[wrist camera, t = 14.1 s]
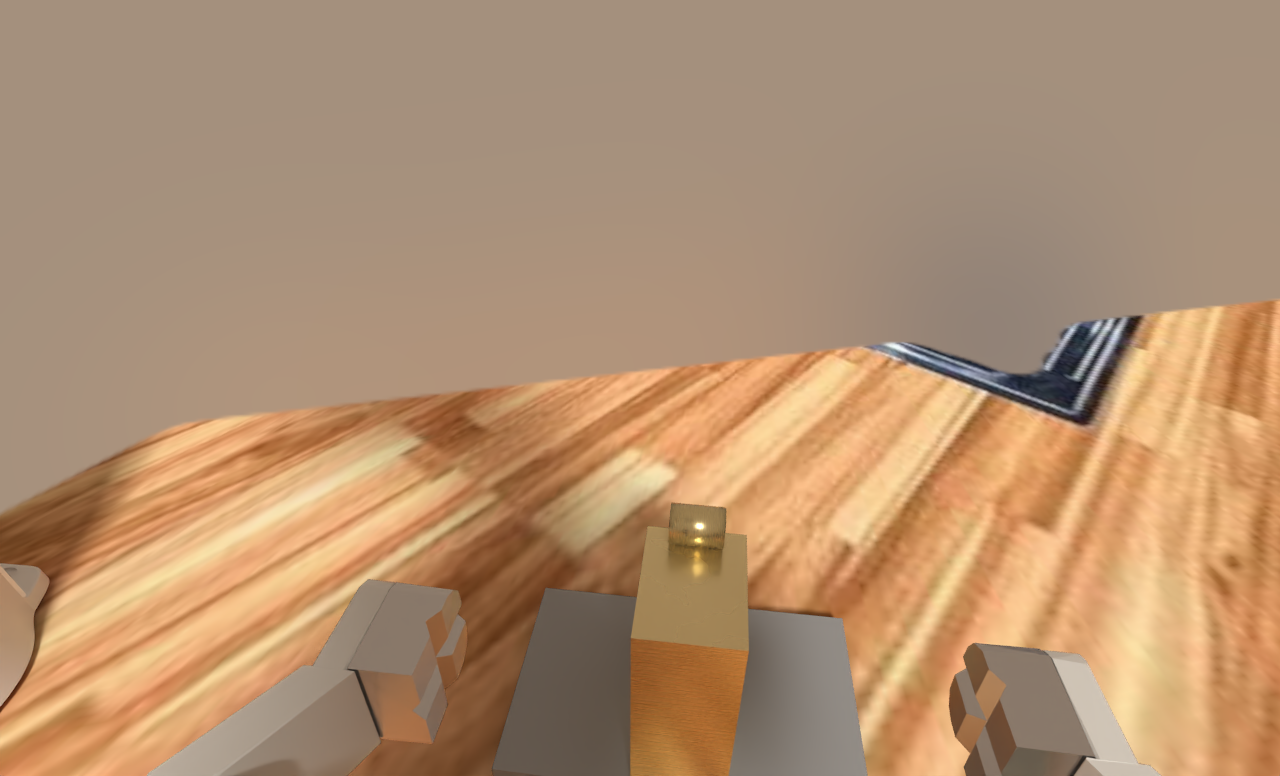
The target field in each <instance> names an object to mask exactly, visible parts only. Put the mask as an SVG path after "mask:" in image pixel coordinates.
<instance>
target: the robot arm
mask: <svg viewBox="0 0 1280 776" xmlns="http://www.w3.org/2000/svg"><path fill="white" fill-rule="evenodd" d="M48 586H49V578H48V576H47V575H46V574H45V573H44V572H43V571H42V570H41V569H40V568H38V567H35V566H28V565H16V564H4V563H0V706H1V705H2V704H3V703H4V701H5V700H6V699H7V698H8V696H9V695H10V694H11V692H12V691H13V689H14V688H15V686H16V685H17V683H18V682H19V680H20V679H21V677H22V675H23V673H24V671H25V669H26V667H27V665H28V663H29V660H30V658H31V655H32V651H33V647H34V641H35V632H34V613H35V610H36V609H37V607H38V605H39V603H40V602H41V600H42V598H43V596H44V595H45V593H46V590H47V588H48ZM461 604H462V602H461V599H460V595H459V591H458V590H451V589H443V588H435V587H427V586H420V585H412V584H404V583H397V582H388V581H379V580H370V579H368V580H367V581H366V582H365V583H364V584H363V585H361V586H360V587H359V589H358V590H357V592H356V594H355V595H354V597H353V599H352V600H351V602H350V604H349V605H348V607H347V609H346V610H345V612H344V614H343V615H342V617H341V619H340V620H339V622H338V624H337V625H336V627H335V629H334V630H333V632H332V634H331V635H330V637H329V639H328V641H327V642H326V644H325V646H324V647H323V649H322V651H321V652H320V654H319V656H318V657H317V659H316V661H315V662H314V664H313V666H310V665H303V666H302V667H300V668H299V669H297V670H296V671H294V672H293V673H292V674H290V675H289V676H287V677H286V678H284V679H283V680H281V681H280V682H279V683H277V684H276V685H274V686H273V687H271V688H270V689H269V690H267V691H266V692H264V693H263V694H261V695H260V696H258V697H257V698H256V699H254V700H253V701H251V702H250V703H248V704H247V705H246V706H244V707H243V708H241V709H240V710H238V711H237V712H236V713H234V714H233V715H231V716H230V717H228V718H227V719H225V720H224V721H223V722H221V723H220V724H218V725H217V726H215V727H214V728H213V729H211V730H210V731H208V732H207V733H205V734H204V735H203V736H201V737H200V738H198V739H197V740H195V741H194V742H192V743H191V744H190V745H188V746H187V747H185V748H184V749H182V750H181V751H180V752H178V753H177V754H175V755H174V756H172V757H171V758H169V759H168V760H167V761H165V762H164V763H162V764H161V765H159V766H158V767H157V768H155V769H154V770H152V771H151V772H149V773H148V775H147V776H347V775H348V774H349V773H350V772H352V771H353V770H354V769H355V768H356V767H357V766H358V765H359V764H360V763H361V762H362V761H363V760H364V759H365V758H366V757H367V756H368V755H369V754H370V753H371V752H372V751H373V750H374V749H375V748H376V747H377V746H378V745H379V744H380V743H381V740H380V739H385V740H396V741H406V742H416V743H426V744H433V742H434V739H435V736H436V734H437V731H438V729H439V726H440V724H441V721H442V718H443V716H444V713H445V711H446V708H447V705H448V703H447V699H446V695H445V689H446V688H447V687H448V686H450V685H451V684H452V683H453V682H454V681H456V680H457V679H458V677H459V674H460V671H461V668H462V666H463V663H464V658H465V653H466V648H467V626H466V621H465V620H464V619H463V618H461V617H460V616H459V615H458V612H459V609H460V607H461ZM963 658H964V661H965V665H966V669H965V670H963V671H961V672H959V673H957V674H955V676H954V679H953V682H952V684H951V687H950V696H949V710H950V717H951V722H952V726H953V730H954V734H955V737H956V738H957V739H958V741H959V742H960V743H961V744H962V745H963V746H964V747H965V748H966V749H967V750H968V751H969V752H970V755H969V757H968V759H967V761H966V764H965V766H964V769H965V773H966V776H1161V775H1160V774H1159V773H1158V772H1157V771H1156V770H1155V769H1153V768H1152V767H1151V766H1150V765H1145V764H1139V763H1138V762H1137V760H1136V758H1135V756H1134V754H1133V752H1132V750H1131V748H1130V746H1129V744H1128V742H1127V740H1126V738H1125V736H1124V734H1123V732H1122V730H1121V728H1120V726H1119V724H1118V722H1117V720H1116V718H1115V716H1114V714H1113V712H1112V710H1111V708H1110V706H1109V704H1108V702H1107V700H1106V698H1105V696H1104V695H1103V693H1102V691H1101V689H1100V687H1099V685H1098V683H1097V681H1096V679H1095V677H1094V675H1093V673H1092V671H1091V669H1090V667H1089V665H1088V663H1087V661H1086V660H1085V659H1084V658H1083V657H1082V656H1081V655H1080V654H1075V653H1067V652H1056V651H1045V650H1040V649H1035V648H1024V647H1012V646H1001V645H990V644H979V643H973V644H972V645H970V646H969V647H968V648H967V650H966V652H965V654H964V656H963Z"/></svg>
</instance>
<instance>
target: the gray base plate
mask: <svg viewBox="0 0 1280 776" xmlns="http://www.w3.org/2000/svg"><path fill="white" fill-rule="evenodd" d="M636 600H637V597H630V596H620V595H610V594H601V593H591V592H582V591H572V590H562V589H553V588H545V592H544V595H543V598H542V602H541V605H540V609H539V612H538V615H537V619H536V622H535V625H534V629H533V632H532V635H531V639H530V642H529V646H528V649H527V652H526V656H525V659H524V662H523V666H522V669H521V672H520V676H519V679H518V683H517V686H516V689H515V693H514V696H513V699H512V703H511V706H510V709H509V713H508V716H507V720H506V723H505V726H504V730H503V733H502V736H501V740H500V743H499V746H498V750H497V753H496V756H495V760H494V763H493V767H492V772H493V776H630V714H631V633H632V626H633V620H634V613H635V607H636ZM748 632H749V653H748V660H747V666H746V672H745V678H744V684H743V690H742V697H741V703H740V709H739V715H738V721H737V727H736V734H735V740H734V746H733V752H732V758H731V764H730V771H729V776H867V769H866V763H865V757H864V751H863V745H862V738H861V732H860V726H859V720H858V713H857V707H856V701H855V695H854V688H853V682H852V676H851V670H850V664H849V657H848V651H847V645H846V639H845V632H844V626H843V620H842V618H832V617H822V616H813V615H803V614H794V613H784V612H774V611H765V610H755V609H748Z"/></svg>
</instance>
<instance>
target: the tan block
mask: <svg viewBox="0 0 1280 776" xmlns="http://www.w3.org/2000/svg"><path fill="white" fill-rule="evenodd" d="M725 529H726V507H715V506H704V505H692V504H681V503H671V511H670V522H669V528H665V527H654V526H648V527H647V533H646V540H645V547H644V553H643V560H642V567H641V573H640V580H639V587H638V593H637V600H636V607H635V613H634V620H633V626H632V633H631V714H630V776H729V771H730V764H731V758H732V752H733V746H734V740H735V734H736V727H737V721H738V715H739V709H740V703H741V697H742V690H743V684H744V678H745V672H746V666H747V660H748V653H749V632H748V585H747V538H746V535H740V534H729V533H725Z"/></svg>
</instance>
